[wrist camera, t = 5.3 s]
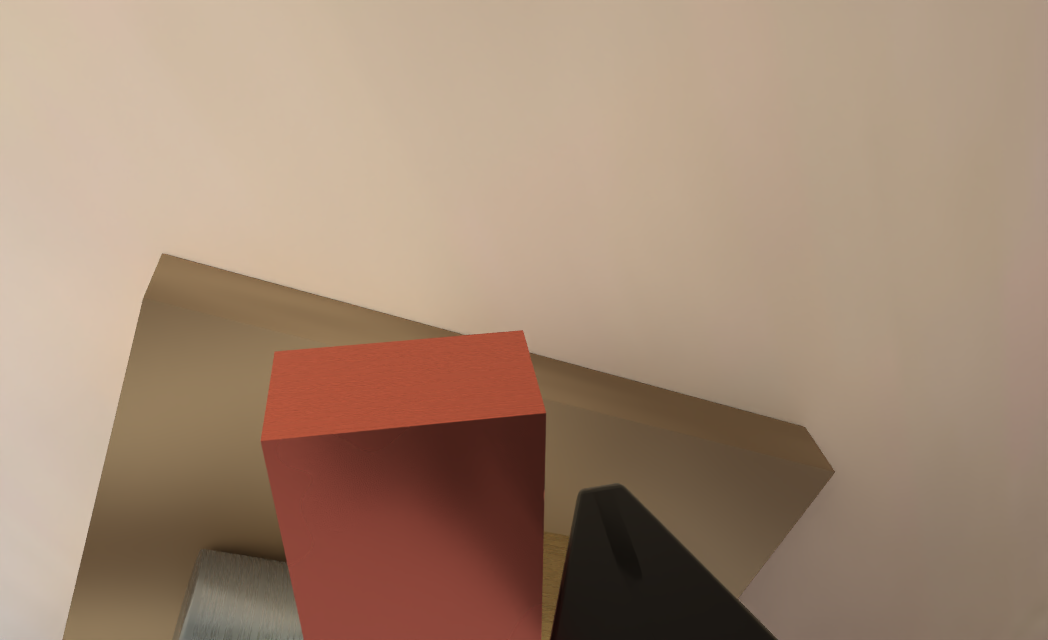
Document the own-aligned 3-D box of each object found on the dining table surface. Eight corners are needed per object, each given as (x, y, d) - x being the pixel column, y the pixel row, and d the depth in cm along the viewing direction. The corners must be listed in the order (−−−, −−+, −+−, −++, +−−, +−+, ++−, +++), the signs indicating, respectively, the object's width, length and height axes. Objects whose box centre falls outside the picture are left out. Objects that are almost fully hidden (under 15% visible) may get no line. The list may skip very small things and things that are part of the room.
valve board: (582, 735, 25) (594, 786, 23) (59, 679, 20) (38, 740, 19) (805, 426, 19) (835, 472, 18) (162, 253, 15) (143, 297, 13)
